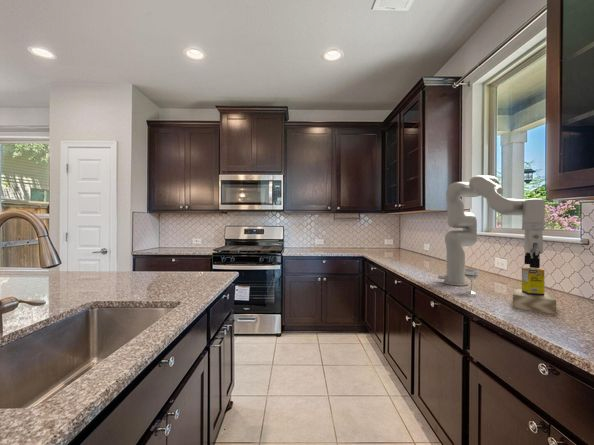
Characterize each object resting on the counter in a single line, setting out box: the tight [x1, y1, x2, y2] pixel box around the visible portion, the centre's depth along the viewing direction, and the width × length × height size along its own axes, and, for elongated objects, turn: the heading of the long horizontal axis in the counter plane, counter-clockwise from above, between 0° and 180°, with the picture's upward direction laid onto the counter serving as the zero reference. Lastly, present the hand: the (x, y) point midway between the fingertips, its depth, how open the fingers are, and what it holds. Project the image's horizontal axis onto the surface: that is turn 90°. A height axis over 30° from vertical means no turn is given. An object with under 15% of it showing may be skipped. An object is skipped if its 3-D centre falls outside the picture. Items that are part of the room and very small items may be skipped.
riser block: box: [512, 288, 557, 315], centre depth 125 cm, size 14×14×6 cm
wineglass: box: [464, 268, 480, 295], centre depth 149 cm, size 7×7×12 cm
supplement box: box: [521, 267, 545, 296], centre depth 125 cm, size 6×6×11 cm
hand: (531, 265), depth 125 cm, fingers open, 9 cm apart
